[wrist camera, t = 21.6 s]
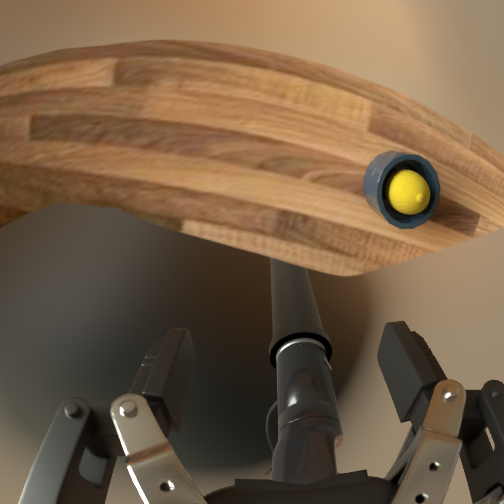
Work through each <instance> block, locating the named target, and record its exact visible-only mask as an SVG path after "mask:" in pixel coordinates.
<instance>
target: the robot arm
mask: <svg viewBox="0 0 504 504" xmlns="http://www.w3.org/2000/svg"><path fill="white" fill-rule="evenodd" d="M378 363H379V366H380V368H381V371H382V373H383V376H384V379H385V381H386V384H387V386H388V389H389V391H390V394H391V397H392V400H393V402H394V405H395V408H396V411H397V413H398V416H399V419H400V422H401V423H402V422H406V421H411V423H412V426H411V427H410V430H409V432H408V434H407V437H406V439H405V441H404V443H403V446H402V448H401V450H400V452H399V454H398V456H397V459H396V461H395V463H394V464H393V466H392V468H391V469H390V471H389V472H388V474H387V475H386V477H385V478H384V479H383V478H379V477H372V476H368V475H367V470H361V471H355V472H349V473H343V474H341V473H338V472H337V466H336V457H335V450H336V449H337V448H338V447H339V446H340V445H341V443H342V441H343V432H342V427H341V422H340V417H339V412H338V407H337V403H336V398H335V393H334V389H333V384H332V379H331V374H330V371H329V367H330V369H331V370H332V368H331V366H330V364H329V363H328V361H327V354H326V350H325V347H324V346H323V344H322V343H320V342H319V341H317V340H315V339H312V338H297V339H293V340H290V341H288V342H286V343H285V344H283V345H282V346H281V347H280V348H279V350H278V352H277V354H276V364H277V388H278V400H277V401H276V402H275V403H274V404H273V406H272V407H271V408H270V410H269V412H268V415H267V419H266V433H267V438H268V442H269V444H270V447H271V450H272V454H273V464H272V466H271V468H270V469H269V470H268V471H267V472H266V474H268V473H269V472H270V471H271V470H272V478H271V479H272V480H258V479H235V485H234V486H228V487H225V488H221V489H218V490H216V491H213V492H211V493H209V494H207V495H205V496H204V497H203V495H202V494H201V492H200V491H199V490H198V488H197V487H196V485H195V484H194V482H193V481H192V480H191V478H190V476H189V475H188V473H187V472H186V470H185V469H184V467H183V466H182V464H181V462H180V461H179V459H178V457H177V456H176V454H175V452H174V451H173V449H172V447H171V446H170V444H169V442H168V441H167V439H168V435H169V432H177V433H179V429H180V425H181V422H182V418H183V414H184V410H185V406H186V402H187V398H188V395H189V391H190V387H191V383H192V379H193V376H194V372H195V367H196V358H195V353H194V348H193V344H192V340H191V335H190V331H189V329H179V328H170V329H169V331H168V333H167V335H166V337H165V340H157V341H156V342H155V343H154V344H153V345H152V346H151V347H149V350H148V352H147V354H146V356H145V358H144V360H143V362H142V366H140V369H139V371H138V373H137V375H136V377H135V380H134V382H133V384H132V386H131V389H130V391H129V393H128V394H126V395H122V396H120V397H119V398H117V399H116V400H115V401H114V402H113V403H112V405H108V406H93V407H91V406H90V405H89V404H88V402H87V401H86V400H85V399H83V398H80V397H73V398H70V399H67V400H66V401H64V402H63V403H62V404H61V405H60V407H59V409H58V411H57V413H56V415H55V417H54V419H53V421H52V423H51V425H50V427H49V429H48V431H47V434H46V436H45V438H44V440H43V442H42V445H41V447H40V449H39V451H38V454H37V456H36V458H35V461H34V463H33V465H32V468H31V470H30V473H29V476H28V478H27V481H26V483H25V486H24V489H23V491H22V494H21V497H20V500H19V503H18V504H105V500H106V496H107V492H108V488H109V485H110V481H111V477H112V473H113V470H114V466H115V463H116V459H117V456H127V460H126V464H127V467H128V470H129V472H130V474H131V476H132V478H133V481H134V483H135V485H136V487H137V489H138V491H139V493H140V495H141V497H142V499H143V500H144V503H145V504H442V503H443V500H444V498H445V495H446V493H447V490H448V487H449V485H450V482H451V479H452V476H453V473H454V470H455V467H456V464H457V461H458V457H459V455H460V459H461V462H462V465H463V469H464V472H465V475H466V479H467V483H468V486H469V490H470V494H471V498H472V503H473V504H504V384H503V383H502V382H500V381H498V380H490V381H488V382H486V383H485V384H484V386H483V388H482V389H481V390H465V389H464V387H463V386H462V385H461V384H460V383H459V382H457V381H455V380H451V379H447V377H446V375H445V374H444V372H443V370H442V368H441V367H440V365H439V363H438V361H437V360H436V358H435V356H434V355H433V354H432V351H431V350H430V348H428V345H427V343H426V342H425V340H424V338H423V337H421V336H420V335H419V334H417V333H416V332H415V331H413V332H411V331H410V329H409V328H408V326H407V324H406V323H405V322H404V321H397V322H389V323H386V325H385V327H384V331H383V335H382V338H381V342H380V345H379V349H378ZM277 405H278V422H279V441H278V443H277V446H276V448H275V450H274V446H273V444H272V441H271V436H270V431H269V424H270V417H271V414H272V412H273V410H274V409H275V408H276V406H277ZM487 427H488V429H489V431H490V433H491V436H492V438H493V441H494V444H495V449H494V451H493V449H492V446H491V443H490V441H489V438H488V436H487V434H486V431H485V429H486V428H487Z"/></svg>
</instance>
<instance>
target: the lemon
mask: <svg viewBox="0 0 504 504" xmlns="http://www.w3.org/2000/svg"><path fill="white" fill-rule="evenodd" d="M385 195H386V198H387V200H388V202H389V203H390V205H391V206H392V207H393V208H394V209H395V210H397V211H399V212H401V213H404V214H410V215H412V214H417V213H420V212H421V211H423V210H424V209H425V208H426V206H427V205H428V203H429V199H430V190H429V186H428V184H427V182H426V181H425V180H424V178H423V177H422V176H420V175H419V174H418V173H416V172H414V171H411V170H407V169H401V170H397V171H395V172H393V173H392V174H391V175H390V176H389V177H388V179H387V180H386V183H385Z"/></svg>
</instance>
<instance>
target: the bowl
mask: <svg viewBox="0 0 504 504" xmlns="http://www.w3.org/2000/svg"><path fill="white" fill-rule="evenodd" d="M401 169H407V170H411V171H414V172H416V173H418V174H419V175H420V176H422V177H423V178H424V180H425V181H426V182H427V184H428V186H429V190H430V199H429V203H428V205H427V206H426V208H425V209H424V210H423V211H421V212H420V213H417V214H412V215H410V214H404V213H401V212H399V211H397V210H395V209H394V208H393V207H392V206H391V205H390V203H389V202H388V200H387V198H386V195H385V183H386V180H387V179H388V177H389V176H390V175H391V174H392V173H393V172H395V171H397V170H401ZM364 193H365V196H366V199H367V202H368V204H369V205H370V206H371V208H372V209H373V210H374V211H375V212H376V213H377V214H378V215H380V216H381V217H382V218H383V219H385V220H386V221H387V222H388V223H390V224H392V225H394V226H396V227H398V228H401V229H413V228H415V227H417V226H420V225H422V224H424V223H425V222H426V221H427V220H428V219H429V218H430V217H431V216H432V215H433V213H434V211H435V209H436V206H437V204H438V202H439V195H440V184H439V180H438V176H437V173H436V171H435V170H434V168H433V167H432V165H431V164H430V162H429V161H427V160H426V159H424V158H422V157H421V156H419V155H416V154H411V153H406V152H399V151H388V152H385V153H382V154H380V155H378V156H377V157H376V158H375V159H374V160H373V161H372V162H371V163H370V164H369V166H368V168H367V171H366V173H365V176H364Z"/></svg>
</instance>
